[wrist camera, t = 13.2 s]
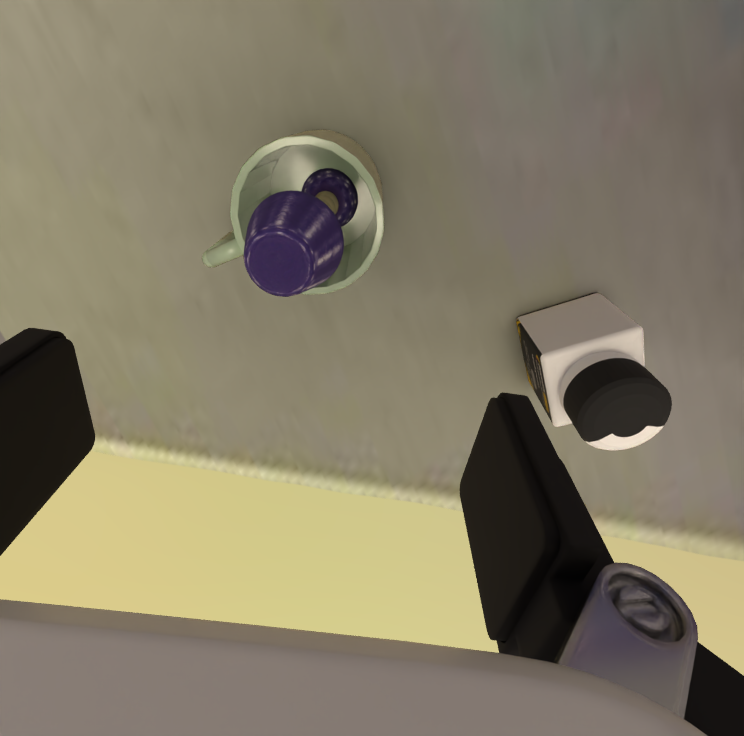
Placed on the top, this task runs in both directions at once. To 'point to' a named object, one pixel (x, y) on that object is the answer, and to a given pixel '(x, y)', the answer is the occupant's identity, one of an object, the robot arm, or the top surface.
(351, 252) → the mug
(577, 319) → the medicine bottle
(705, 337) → the top surface
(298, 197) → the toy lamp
